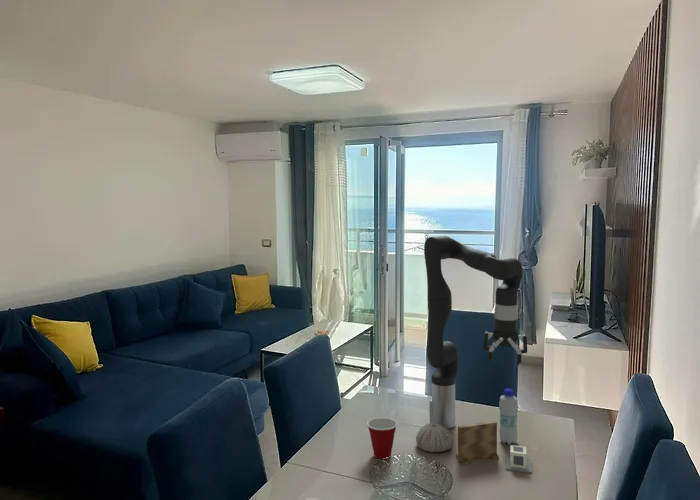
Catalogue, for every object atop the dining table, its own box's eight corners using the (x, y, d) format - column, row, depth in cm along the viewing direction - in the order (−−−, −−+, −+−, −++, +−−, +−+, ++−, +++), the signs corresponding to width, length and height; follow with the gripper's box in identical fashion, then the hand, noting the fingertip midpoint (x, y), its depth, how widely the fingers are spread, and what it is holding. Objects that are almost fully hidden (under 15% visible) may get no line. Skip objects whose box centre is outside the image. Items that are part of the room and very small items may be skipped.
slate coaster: (505, 469, 157) (505, 468, 157) (505, 457, 165) (505, 456, 164) (531, 473, 154) (531, 471, 154) (530, 460, 162) (530, 459, 162)
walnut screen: (462, 464, 161) (462, 430, 160) (455, 457, 166) (455, 423, 165) (499, 458, 164) (499, 424, 163) (491, 451, 169) (491, 418, 168)
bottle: (519, 447, 172) (519, 393, 170) (499, 445, 173) (500, 392, 171) (516, 438, 178) (517, 386, 176) (497, 436, 179) (498, 385, 178)
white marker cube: (510, 458, 163) (510, 444, 162) (525, 461, 161) (525, 446, 161) (510, 466, 158) (510, 451, 157) (526, 468, 156) (526, 454, 156)
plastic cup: (398, 447, 173) (397, 415, 172) (397, 463, 162) (397, 429, 161) (368, 446, 174) (367, 415, 173) (365, 462, 163) (365, 428, 162)
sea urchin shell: (409, 449, 172) (409, 428, 171) (425, 434, 183) (425, 414, 182) (443, 459, 164) (443, 437, 164) (458, 443, 176) (458, 422, 175)
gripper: (483, 318, 161) (482, 364, 163) (528, 321, 157) (527, 368, 159) (484, 313, 168) (483, 357, 170) (527, 315, 164) (526, 361, 166)
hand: (504, 363), depth 164 cm, fingers open, 8 cm apart
